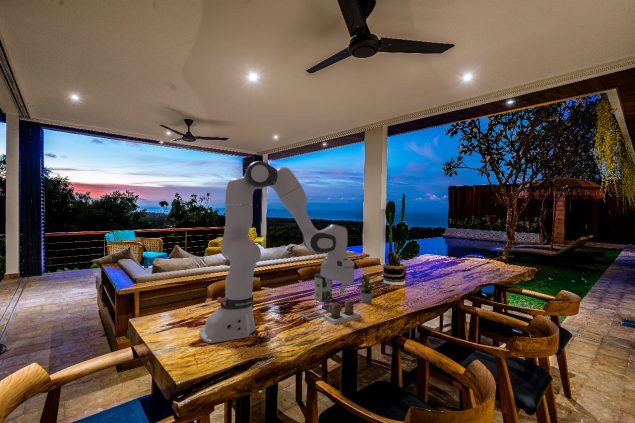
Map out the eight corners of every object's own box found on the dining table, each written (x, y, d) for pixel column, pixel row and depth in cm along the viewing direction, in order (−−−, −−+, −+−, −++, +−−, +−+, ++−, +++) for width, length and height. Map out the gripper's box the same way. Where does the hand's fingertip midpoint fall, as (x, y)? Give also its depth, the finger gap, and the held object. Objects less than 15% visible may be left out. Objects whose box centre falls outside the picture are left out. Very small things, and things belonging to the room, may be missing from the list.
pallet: (333, 326, 131) (333, 320, 131) (324, 321, 136) (324, 315, 136) (360, 319, 140) (360, 313, 140) (350, 314, 146) (350, 309, 146)
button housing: (330, 314, 145) (330, 309, 145) (321, 310, 150) (321, 305, 150) (341, 312, 149) (341, 307, 149) (332, 307, 154) (332, 303, 154)
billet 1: (335, 322, 133) (335, 306, 133) (329, 319, 136) (330, 304, 136) (341, 320, 135) (342, 305, 135) (336, 317, 139) (336, 302, 138)
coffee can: (333, 297, 173) (333, 273, 173) (330, 302, 163) (331, 277, 163) (316, 295, 175) (316, 272, 175) (312, 301, 165) (312, 276, 165)
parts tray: (308, 322, 135) (308, 318, 135) (298, 315, 142) (298, 312, 142) (324, 318, 140) (324, 314, 140) (313, 312, 147) (313, 309, 147)
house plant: (347, 299, 169) (348, 271, 169) (369, 297, 173) (370, 269, 173) (358, 307, 155) (359, 276, 155) (382, 305, 160) (382, 275, 159)
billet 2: (348, 318, 138) (348, 303, 137) (342, 315, 141) (343, 301, 141) (354, 316, 140) (355, 302, 140) (349, 314, 143) (349, 299, 143)
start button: (331, 310, 148) (331, 304, 148) (327, 308, 150) (327, 303, 150) (335, 309, 149) (335, 303, 149) (332, 307, 152) (332, 302, 151)
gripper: (318, 256, 142) (316, 285, 142) (346, 264, 125) (344, 296, 125) (328, 256, 146) (327, 284, 146) (357, 263, 129) (355, 295, 129)
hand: (335, 290), depth 135 cm, fingers open, 8 cm apart
